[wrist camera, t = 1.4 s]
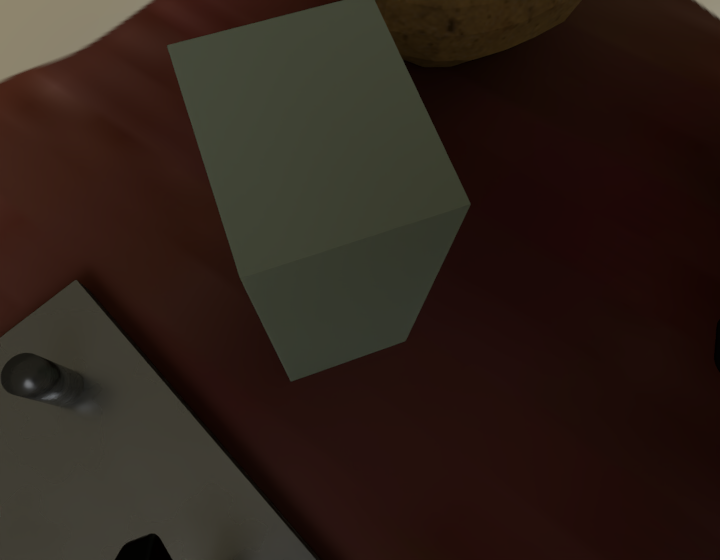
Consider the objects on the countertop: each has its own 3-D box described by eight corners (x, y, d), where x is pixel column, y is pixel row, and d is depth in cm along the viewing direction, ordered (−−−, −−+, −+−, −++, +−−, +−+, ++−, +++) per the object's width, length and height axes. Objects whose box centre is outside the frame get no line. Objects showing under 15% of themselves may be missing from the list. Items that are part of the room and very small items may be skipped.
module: (405, 341, 24) (470, 204, 12) (290, 381, 23) (239, 278, 11) (356, 217, 26) (371, -7, 14) (248, 251, 25) (166, 45, 13)
